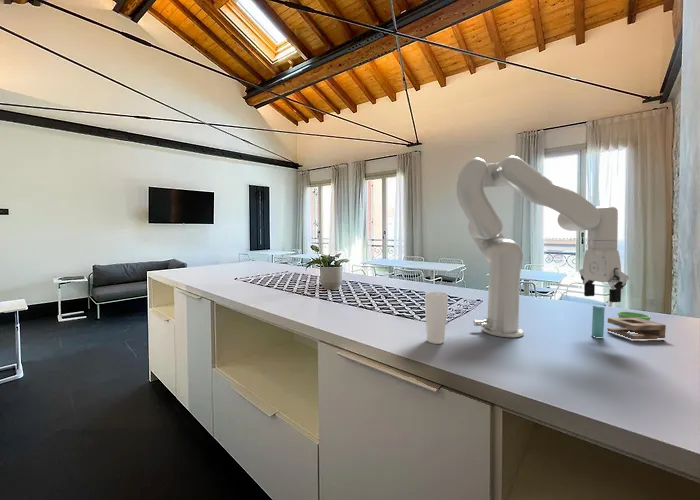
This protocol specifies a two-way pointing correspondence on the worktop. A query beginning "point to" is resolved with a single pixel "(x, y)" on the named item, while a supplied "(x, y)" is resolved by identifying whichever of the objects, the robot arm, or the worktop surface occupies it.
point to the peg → (598, 321)
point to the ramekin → (633, 315)
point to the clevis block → (638, 328)
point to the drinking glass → (436, 316)
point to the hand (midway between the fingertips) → (601, 298)
